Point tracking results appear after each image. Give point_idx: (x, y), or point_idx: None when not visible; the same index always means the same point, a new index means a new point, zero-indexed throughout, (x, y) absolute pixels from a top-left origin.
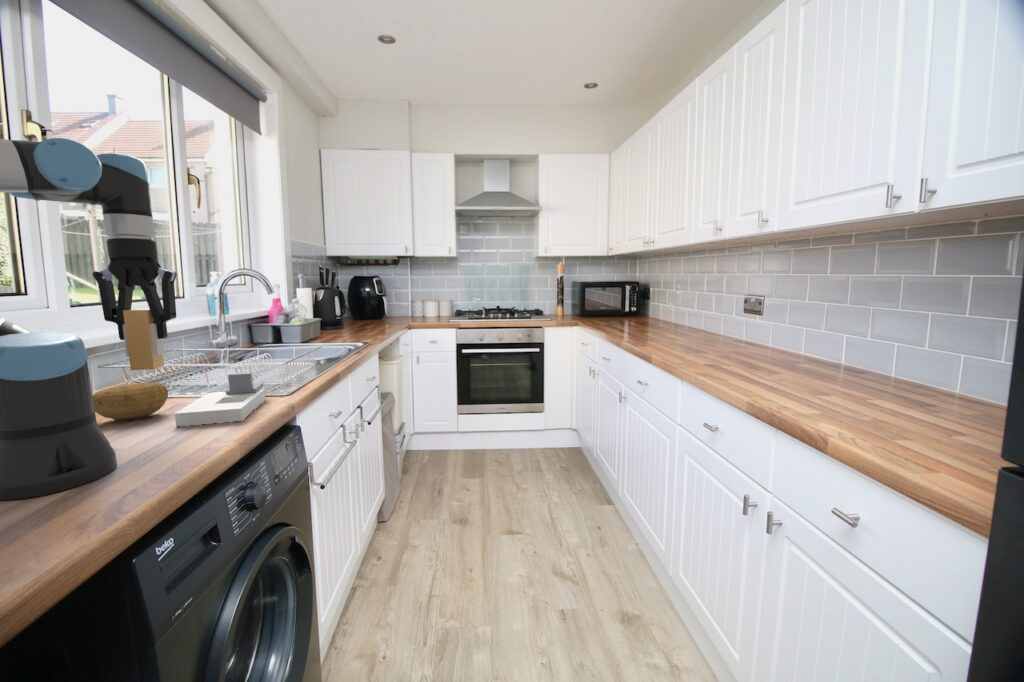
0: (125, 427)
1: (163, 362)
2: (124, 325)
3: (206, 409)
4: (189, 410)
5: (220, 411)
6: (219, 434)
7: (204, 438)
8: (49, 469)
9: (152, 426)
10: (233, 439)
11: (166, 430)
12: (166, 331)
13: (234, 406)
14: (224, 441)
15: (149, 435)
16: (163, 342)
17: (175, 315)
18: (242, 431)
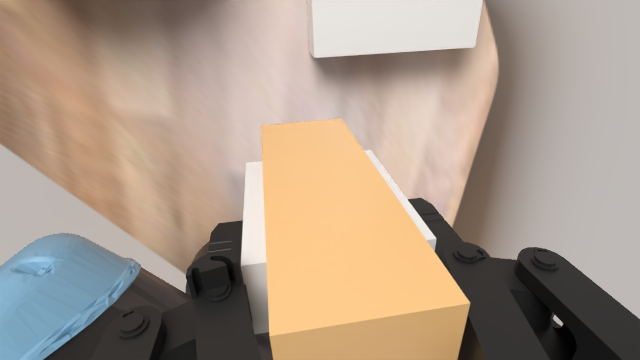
0: (164, 20)
1: (344, 123)
2: (265, 328)
3: (387, 33)
4: (342, 31)
5: (424, 50)
6: (426, 131)
7: (405, 149)
8: None
9: (240, 30)
10: (458, 164)
11: (299, 77)
12: (441, 221)
13: (455, 18)
14: (444, 172)
15: (279, 108)
16: (388, 174)
17: (563, 271)
18: (466, 120)
